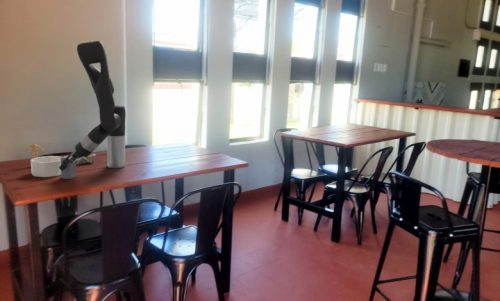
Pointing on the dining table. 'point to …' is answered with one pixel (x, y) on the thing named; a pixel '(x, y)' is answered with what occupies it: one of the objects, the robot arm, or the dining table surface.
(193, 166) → the dining table surface
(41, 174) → the white round bowl
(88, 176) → the dining table surface
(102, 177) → the dining table surface
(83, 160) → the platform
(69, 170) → the grey tall block
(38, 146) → the figurine
